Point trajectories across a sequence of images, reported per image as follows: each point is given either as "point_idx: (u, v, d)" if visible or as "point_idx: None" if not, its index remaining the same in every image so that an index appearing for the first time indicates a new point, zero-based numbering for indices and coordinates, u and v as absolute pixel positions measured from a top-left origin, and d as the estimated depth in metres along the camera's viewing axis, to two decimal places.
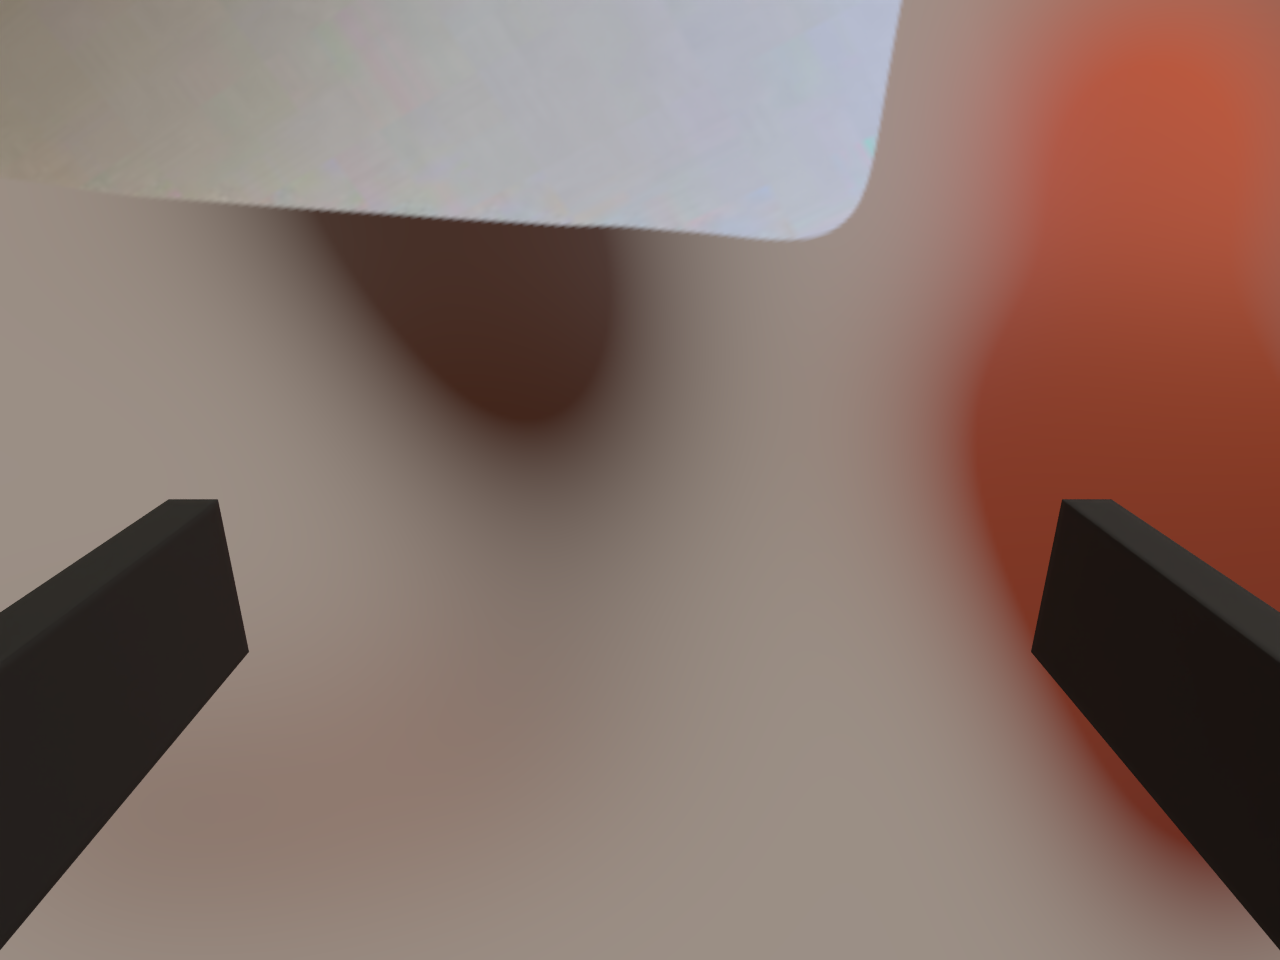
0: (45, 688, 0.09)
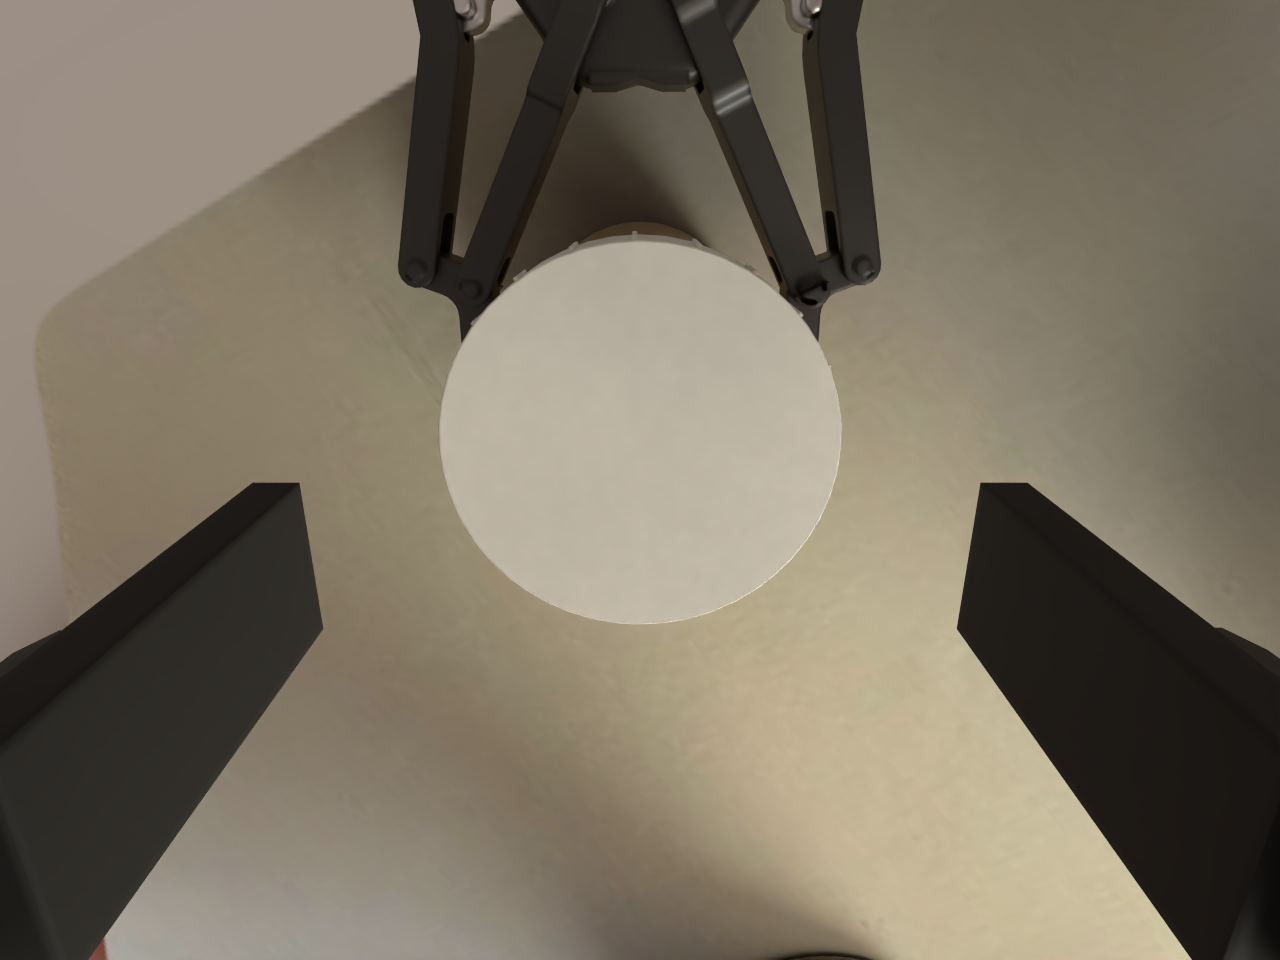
0: (170, 651, 0.09)
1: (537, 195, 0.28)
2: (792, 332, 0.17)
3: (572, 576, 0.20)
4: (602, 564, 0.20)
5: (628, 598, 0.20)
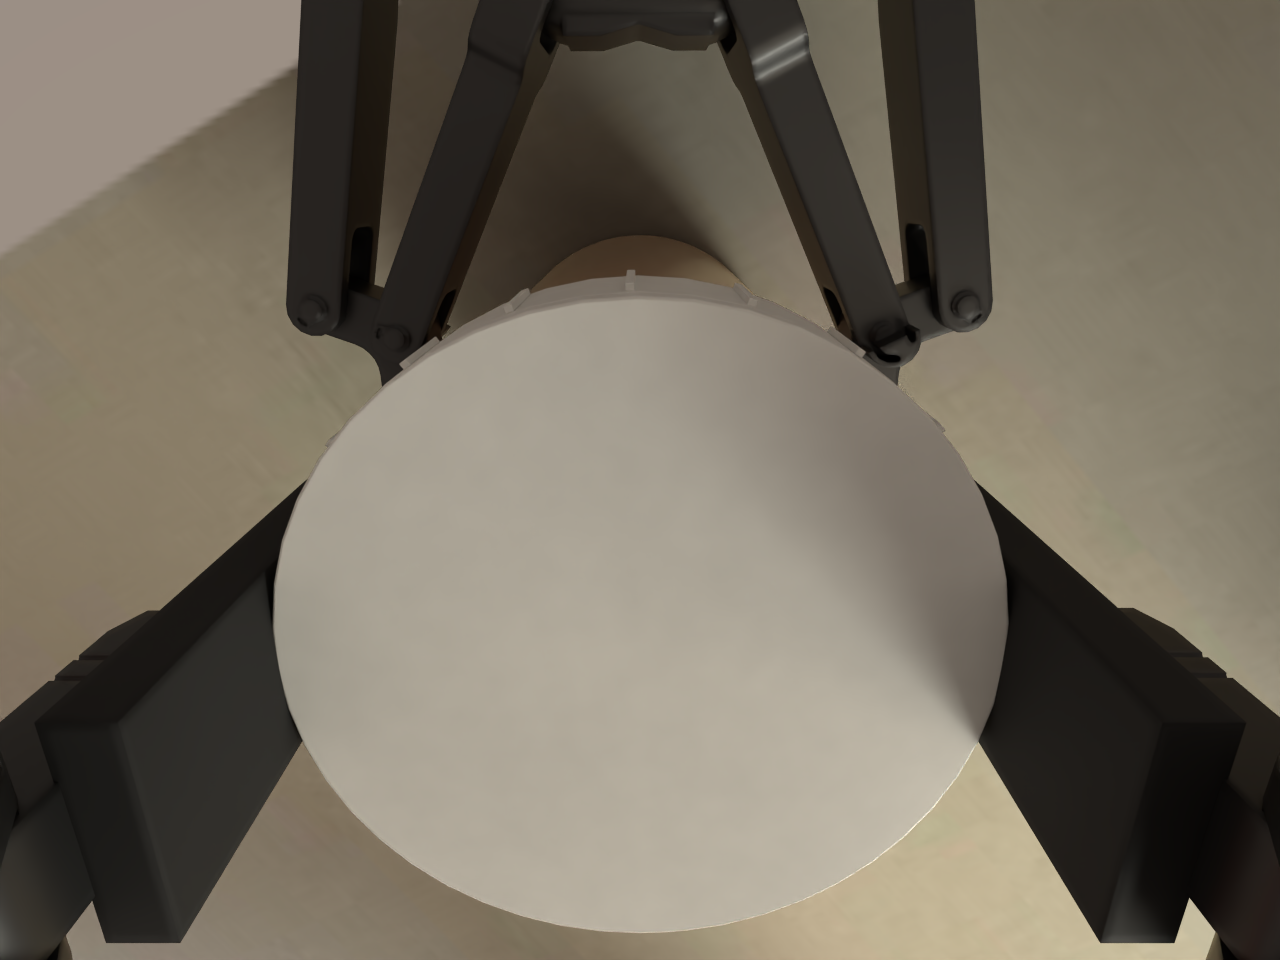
0: (258, 629, 0.10)
1: (493, 201, 0.19)
2: (930, 467, 0.09)
3: (523, 863, 0.11)
4: (575, 846, 0.11)
5: (620, 896, 0.12)
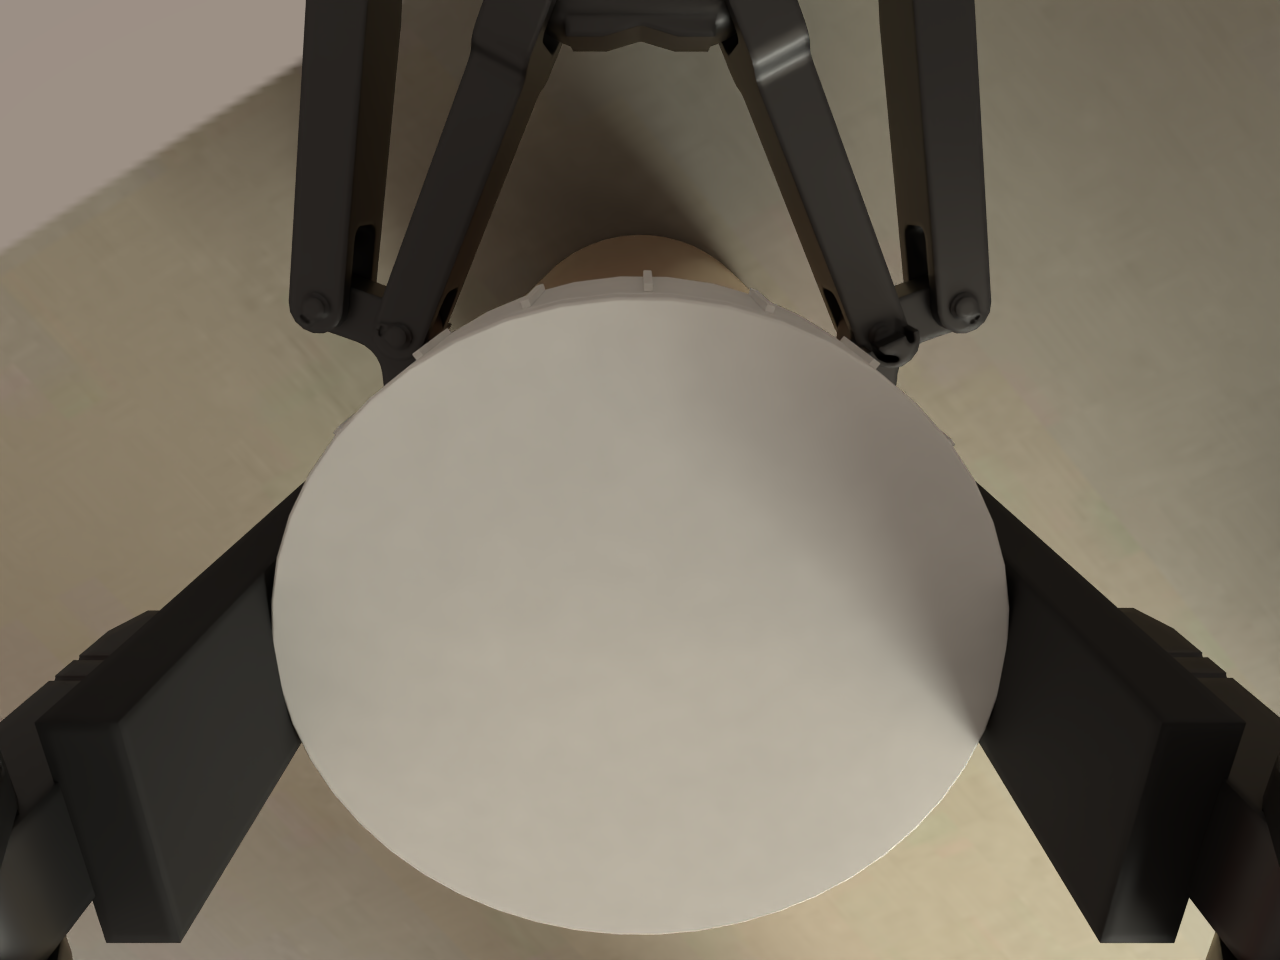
0: (259, 629, 0.10)
1: (495, 200, 0.19)
2: (354, 461, 0.09)
3: (907, 736, 0.11)
4: (877, 694, 0.10)
5: (949, 641, 0.10)
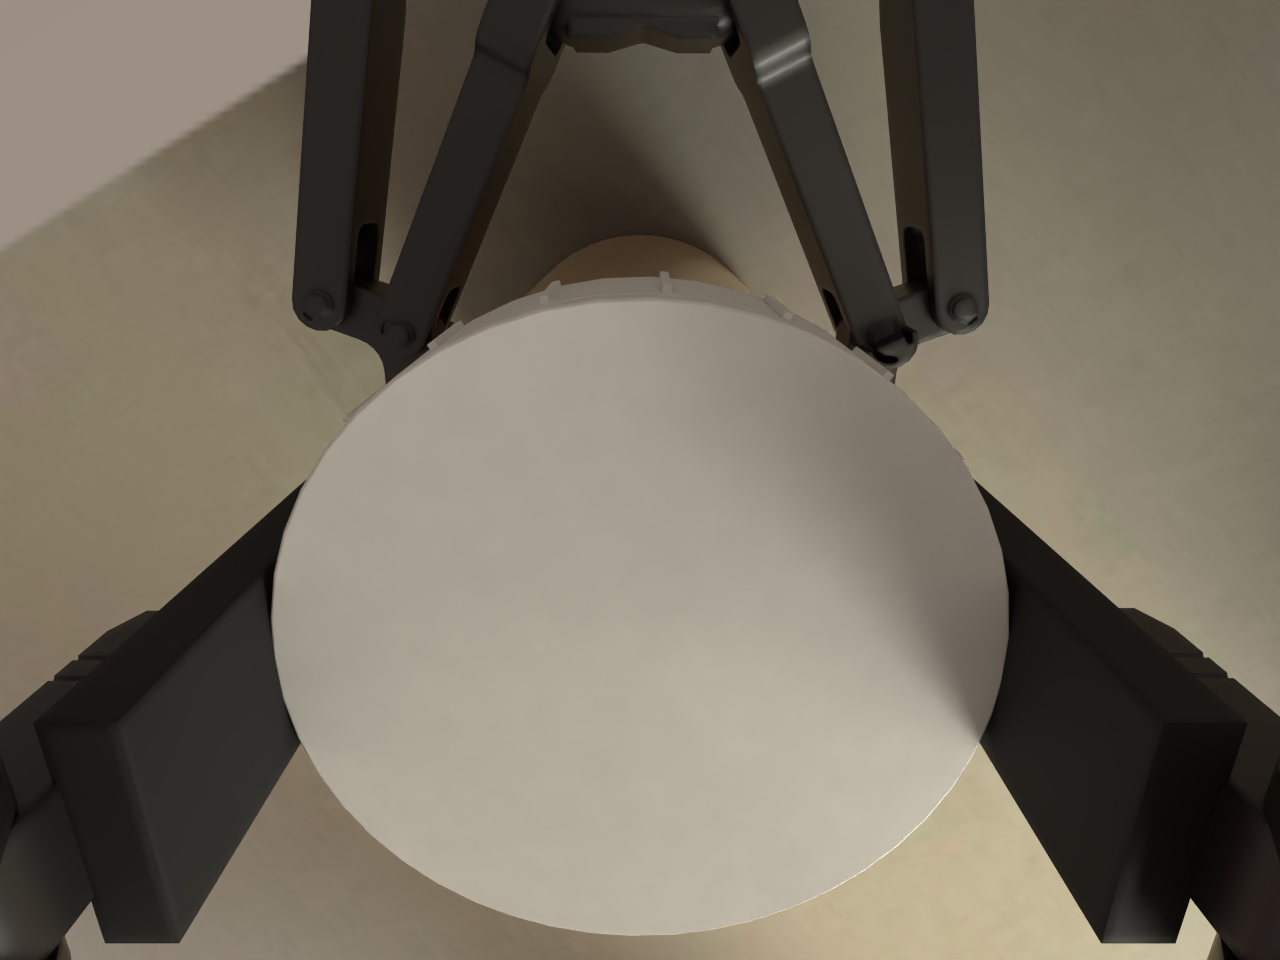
0: (258, 629, 0.10)
1: (497, 199, 0.19)
2: (488, 890, 0.11)
3: (677, 388, 0.09)
4: (625, 438, 0.09)
5: (541, 380, 0.09)
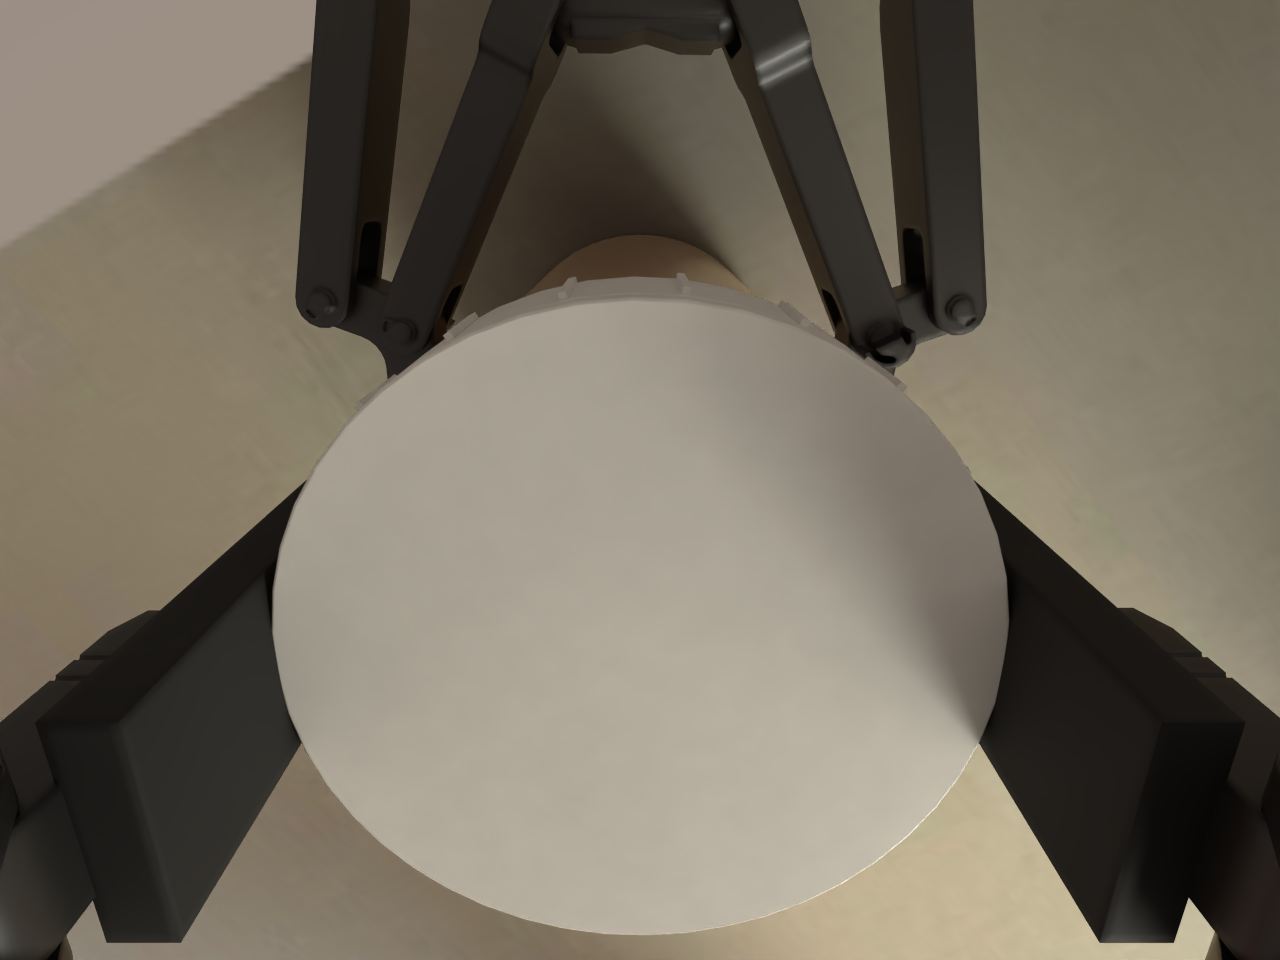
0: (259, 629, 0.10)
1: (500, 198, 0.20)
2: (942, 764, 0.11)
3: (354, 685, 0.10)
4: (409, 716, 0.10)
5: (381, 779, 0.11)
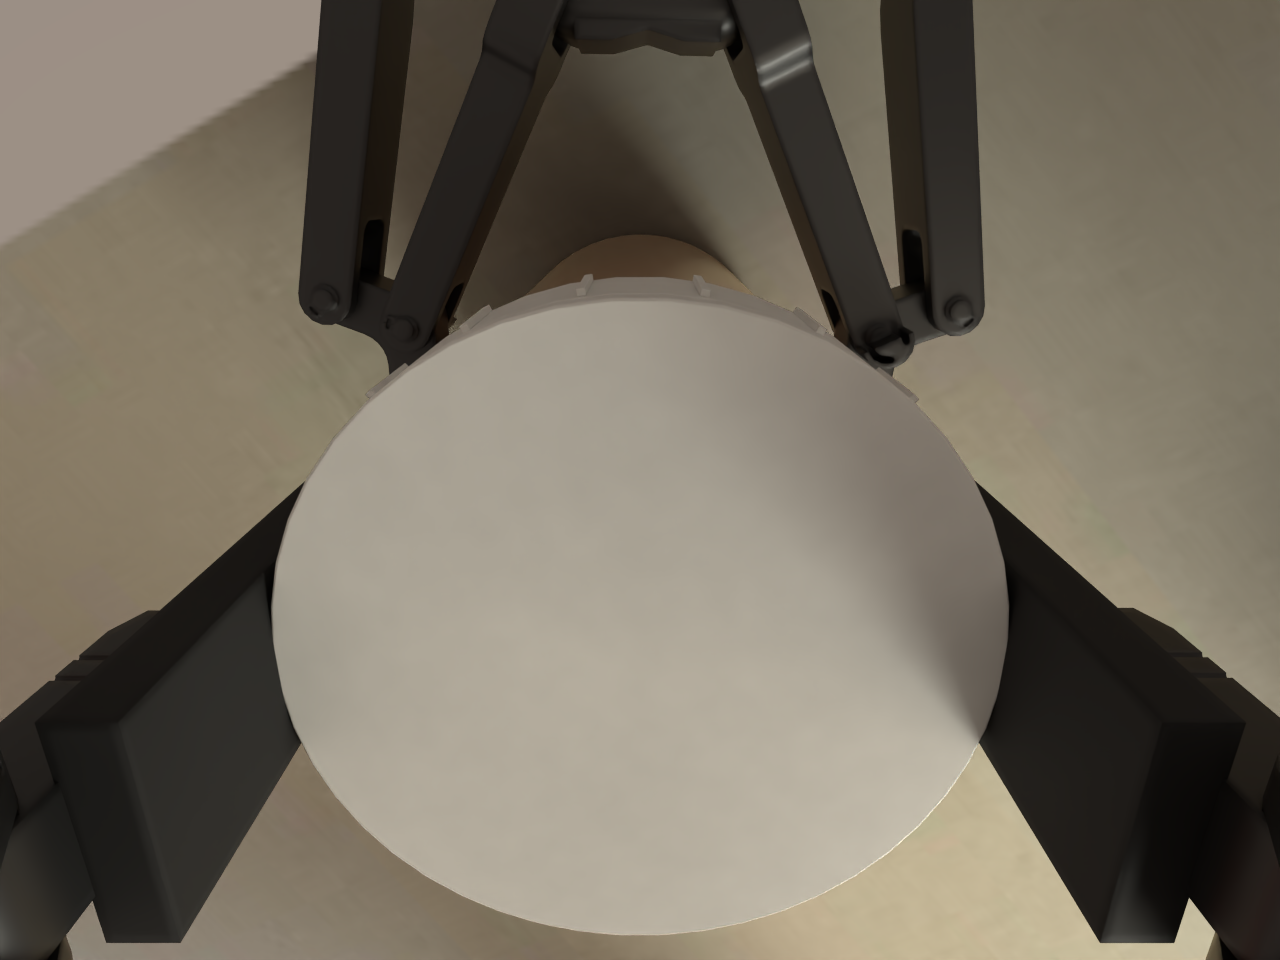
0: (259, 629, 0.10)
1: (502, 197, 0.20)
2: (708, 336, 0.09)
3: (702, 881, 0.11)
4: (728, 842, 0.11)
5: (805, 858, 0.11)
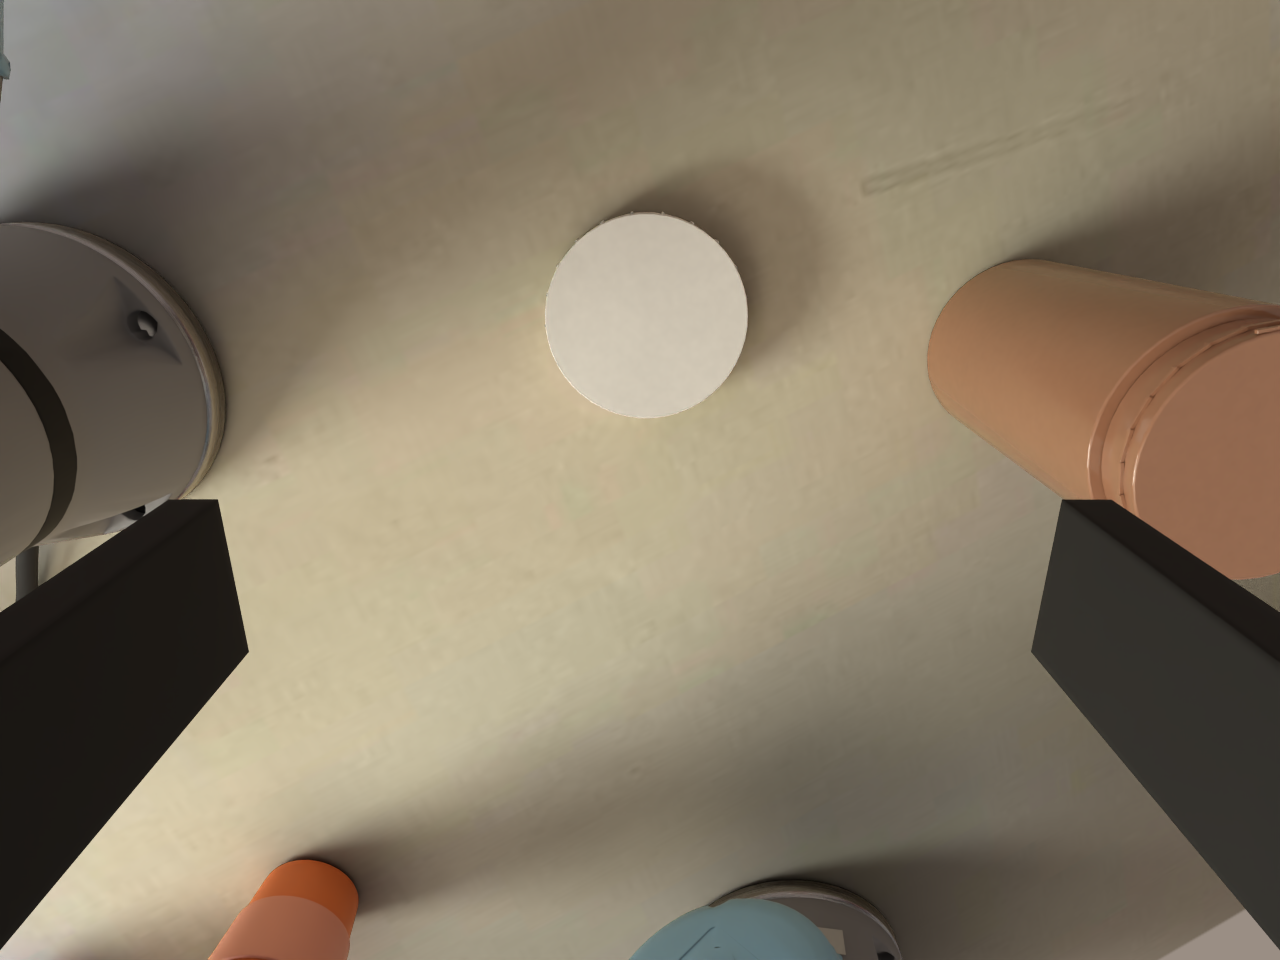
0: (45, 688, 0.09)
1: None
2: (663, 223, 0.35)
3: (665, 396, 0.38)
4: (672, 381, 0.38)
5: (695, 387, 0.38)
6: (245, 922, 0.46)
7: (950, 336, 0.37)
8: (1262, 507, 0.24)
